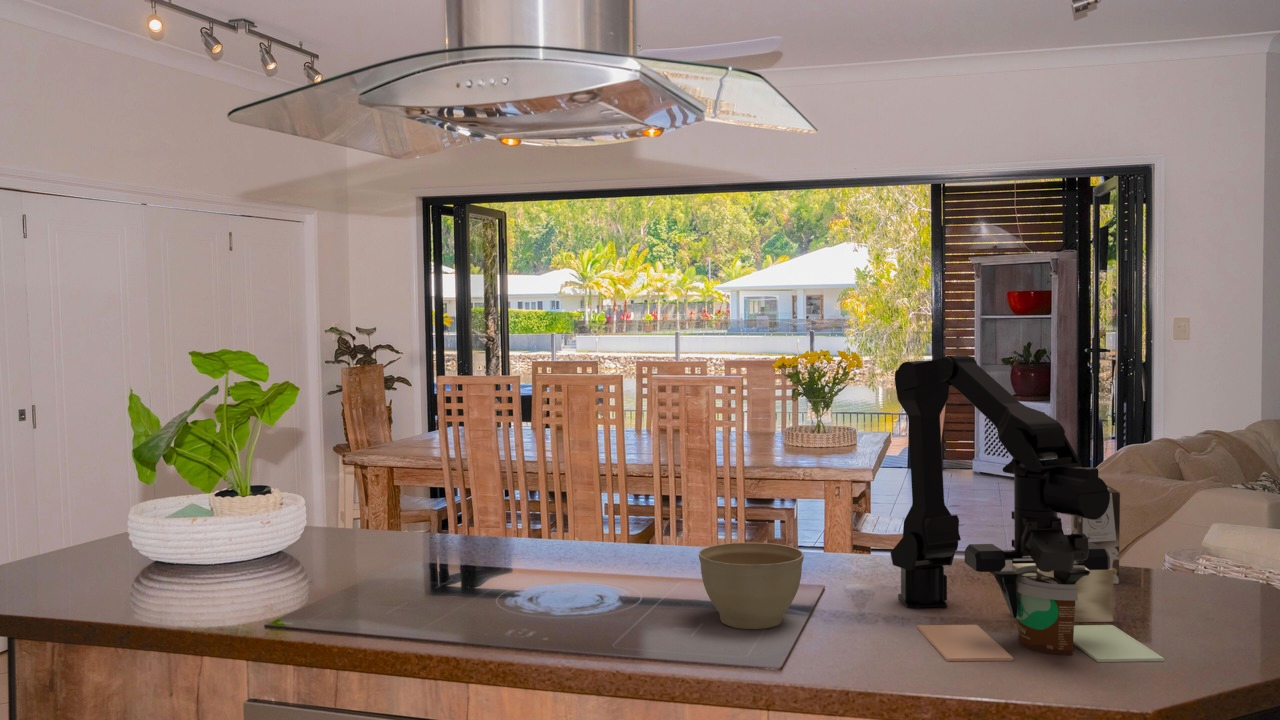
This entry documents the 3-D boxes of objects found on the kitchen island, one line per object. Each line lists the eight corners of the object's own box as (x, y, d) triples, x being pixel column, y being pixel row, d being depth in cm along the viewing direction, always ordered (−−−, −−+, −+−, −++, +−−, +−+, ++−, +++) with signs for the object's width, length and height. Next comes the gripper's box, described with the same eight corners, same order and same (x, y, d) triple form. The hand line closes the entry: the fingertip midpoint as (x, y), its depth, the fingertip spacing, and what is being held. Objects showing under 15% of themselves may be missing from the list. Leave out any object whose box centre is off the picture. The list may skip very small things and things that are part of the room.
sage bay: (1097, 662, 137) (1097, 659, 137) (1052, 628, 152) (1052, 625, 152) (1164, 661, 137) (1164, 658, 137) (1112, 627, 152) (1112, 625, 152)
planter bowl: (824, 620, 158) (824, 551, 157) (760, 645, 146) (759, 570, 146) (743, 601, 169) (743, 536, 169) (678, 622, 158) (677, 553, 157)
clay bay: (947, 661, 138) (947, 658, 138) (917, 628, 153) (917, 625, 153) (1013, 660, 138) (1013, 657, 138) (976, 627, 153) (976, 624, 153)
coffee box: (1120, 584, 176) (1121, 492, 176) (1081, 583, 178) (1081, 491, 177) (1107, 571, 185) (1108, 483, 185) (1070, 570, 187) (1070, 483, 186)
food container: (995, 632, 150) (995, 565, 150) (1035, 630, 151) (1035, 564, 151) (1034, 660, 138) (1034, 587, 138) (1078, 658, 139) (1077, 585, 138)
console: (1021, 622, 155) (1021, 557, 155) (1008, 612, 161) (1008, 549, 160) (1113, 621, 155) (1113, 556, 155) (1096, 611, 161) (1097, 548, 160)
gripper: (989, 520, 136) (990, 635, 136) (1129, 517, 136) (1129, 633, 136) (963, 505, 147) (963, 611, 148) (1092, 502, 147) (1092, 609, 147)
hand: (1036, 616), depth 144 cm, fingers closed on food container, 6 cm apart
